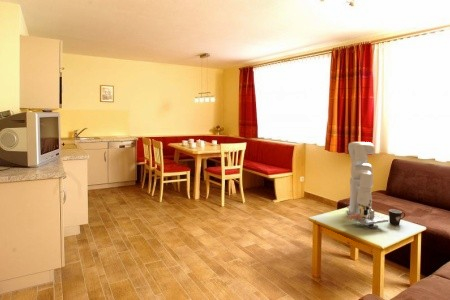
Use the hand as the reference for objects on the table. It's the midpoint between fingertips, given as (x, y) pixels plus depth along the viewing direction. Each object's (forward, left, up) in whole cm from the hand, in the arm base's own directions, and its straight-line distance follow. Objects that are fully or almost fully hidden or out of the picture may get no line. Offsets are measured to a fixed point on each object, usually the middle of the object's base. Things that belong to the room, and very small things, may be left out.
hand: (363, 213), depth 218 cm
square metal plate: (0, +4, -10) cm, 11 cm away
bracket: (0, -9, -3) cm, 9 cm away
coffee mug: (+4, +28, -10) cm, 30 cm away
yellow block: (0, 0, -2) cm, 2 cm away
